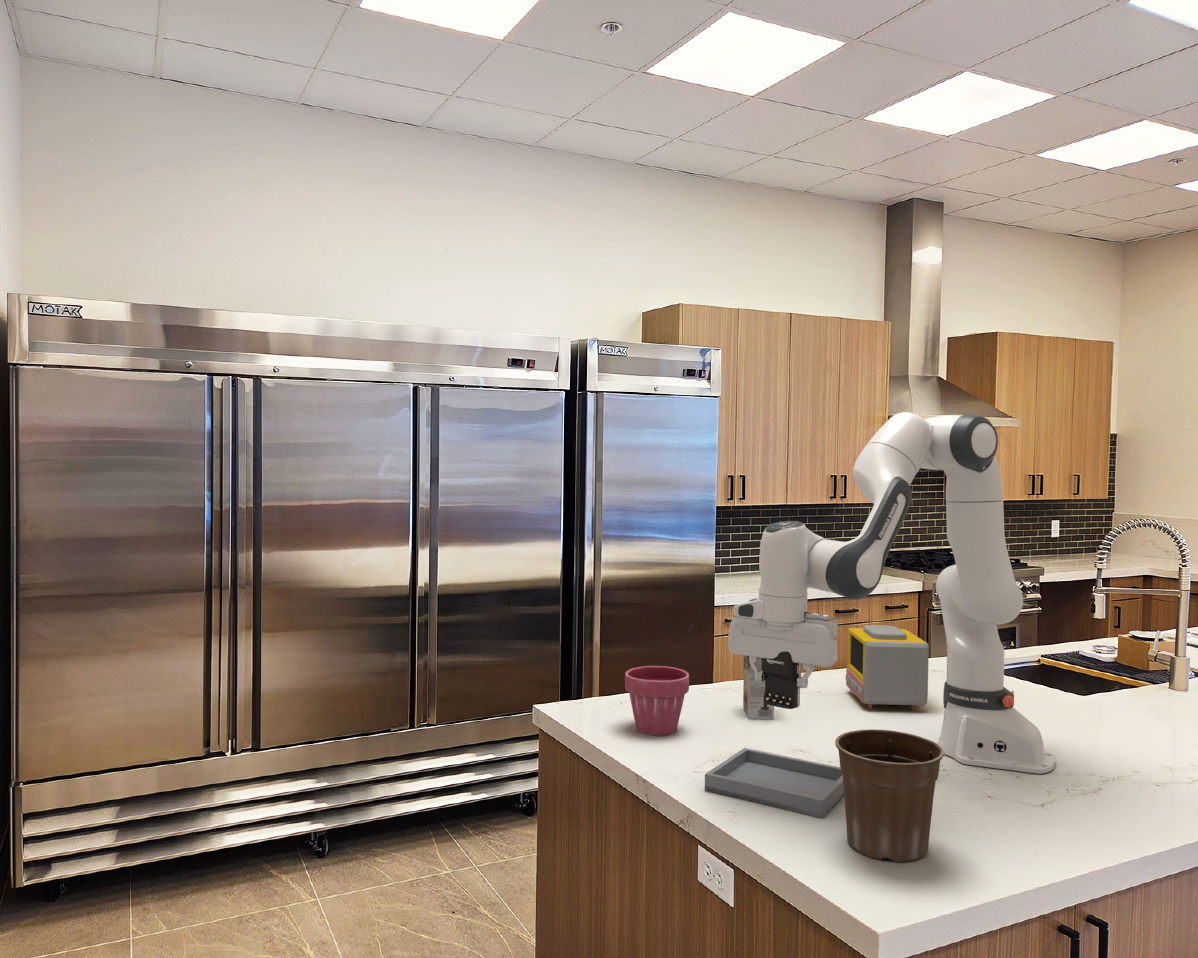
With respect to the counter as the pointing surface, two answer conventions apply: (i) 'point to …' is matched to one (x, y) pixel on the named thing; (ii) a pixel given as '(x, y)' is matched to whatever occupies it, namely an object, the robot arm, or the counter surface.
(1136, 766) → the counter surface
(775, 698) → the battery charger
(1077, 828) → the counter surface
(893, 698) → the alarm clock
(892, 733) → the plant pot
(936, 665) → the counter surface
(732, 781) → the tray
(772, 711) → the coffee box
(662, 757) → the counter surface
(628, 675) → the plant pot
